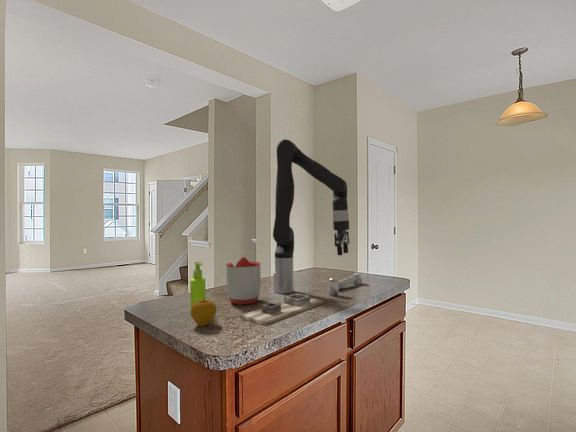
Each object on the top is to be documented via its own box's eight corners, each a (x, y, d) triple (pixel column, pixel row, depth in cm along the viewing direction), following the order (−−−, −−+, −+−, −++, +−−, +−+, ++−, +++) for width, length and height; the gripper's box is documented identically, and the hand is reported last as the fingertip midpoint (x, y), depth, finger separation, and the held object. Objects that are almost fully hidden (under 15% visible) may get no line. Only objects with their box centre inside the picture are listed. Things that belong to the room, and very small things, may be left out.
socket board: (240, 318, 122) (240, 307, 121) (299, 298, 149) (299, 290, 149) (265, 325, 113) (265, 314, 113) (323, 303, 141) (323, 294, 141)
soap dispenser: (192, 315, 126) (192, 263, 126) (189, 310, 132) (188, 261, 132) (207, 313, 129) (207, 262, 129) (203, 308, 135) (203, 260, 135)
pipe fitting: (327, 295, 153) (327, 278, 153) (332, 293, 157) (332, 277, 157) (335, 297, 150) (335, 279, 150) (340, 295, 154) (340, 278, 154)
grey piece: (328, 283, 164) (355, 269, 182) (330, 295, 165) (356, 281, 183) (337, 284, 161) (363, 270, 178) (338, 297, 161) (364, 282, 179)
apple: (220, 326, 113) (220, 300, 113) (195, 331, 108) (194, 304, 108) (211, 319, 121) (211, 295, 121) (187, 323, 116) (187, 298, 116)
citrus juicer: (249, 294, 157) (248, 253, 157) (268, 302, 143) (267, 257, 143) (218, 300, 148) (218, 256, 148) (236, 308, 134) (235, 260, 134)
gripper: (338, 220, 163) (340, 252, 162) (328, 220, 150) (330, 256, 150) (353, 219, 159) (355, 252, 159) (343, 220, 146) (345, 256, 146)
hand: (343, 254), depth 154 cm, fingers open, 8 cm apart
